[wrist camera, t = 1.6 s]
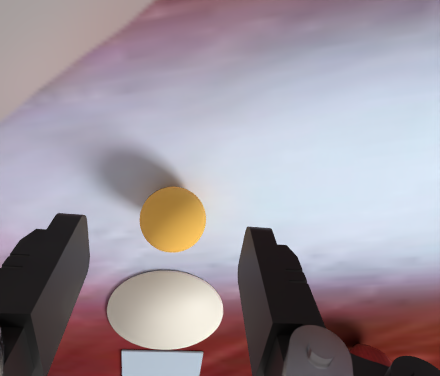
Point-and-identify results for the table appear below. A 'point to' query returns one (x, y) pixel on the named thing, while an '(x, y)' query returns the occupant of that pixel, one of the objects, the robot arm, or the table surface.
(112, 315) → the disc
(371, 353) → the onion
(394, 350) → the table surface
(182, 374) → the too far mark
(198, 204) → the ball
